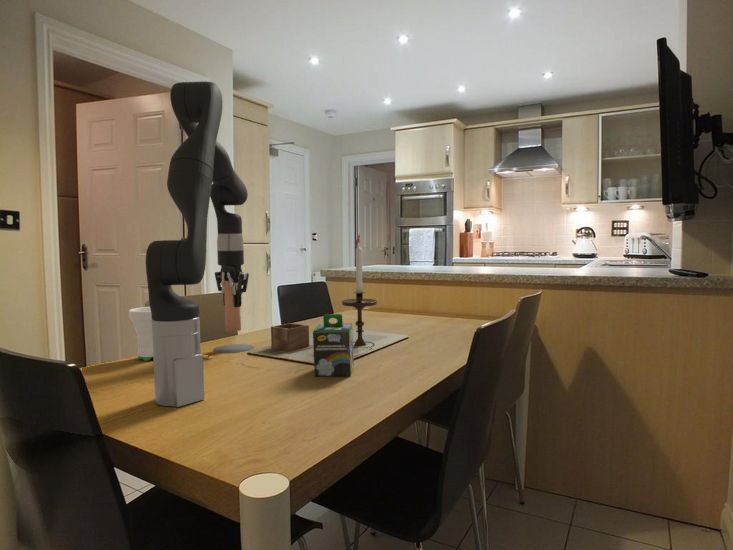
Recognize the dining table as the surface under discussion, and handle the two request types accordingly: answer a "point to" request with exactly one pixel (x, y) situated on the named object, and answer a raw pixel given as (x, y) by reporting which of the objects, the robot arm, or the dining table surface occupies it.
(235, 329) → the dowel
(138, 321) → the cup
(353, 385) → the dining table surface
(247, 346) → the coaster
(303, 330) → the open wooden box
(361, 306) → the candlestick
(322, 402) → the dining table surface
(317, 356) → the chalk box
